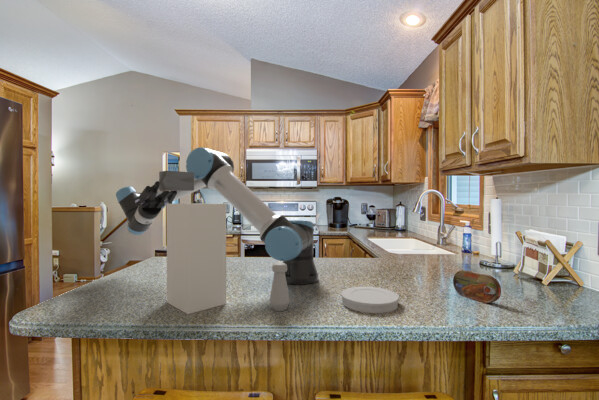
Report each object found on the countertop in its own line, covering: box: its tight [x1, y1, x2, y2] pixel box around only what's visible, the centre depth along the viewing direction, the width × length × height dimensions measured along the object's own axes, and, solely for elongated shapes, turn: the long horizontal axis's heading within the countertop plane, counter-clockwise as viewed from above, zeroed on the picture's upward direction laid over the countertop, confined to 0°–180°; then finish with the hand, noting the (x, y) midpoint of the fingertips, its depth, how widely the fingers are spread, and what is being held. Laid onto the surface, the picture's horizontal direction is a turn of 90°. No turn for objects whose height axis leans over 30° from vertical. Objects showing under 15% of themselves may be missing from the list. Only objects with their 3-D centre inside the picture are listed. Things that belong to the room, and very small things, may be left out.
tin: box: [452, 269, 502, 304], centre depth 99 cm, size 15×3×8 cm, turn 23°
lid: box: [340, 286, 400, 314], centre depth 96 cm, size 17×20×3 cm
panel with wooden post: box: [157, 170, 194, 191], centre depth 107 cm, size 18×9×6 cm, turn 45°
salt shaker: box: [269, 262, 291, 312], centre depth 90 cm, size 6×6×13 cm
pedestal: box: [166, 202, 227, 315], centre depth 94 cm, size 14×12×30 cm
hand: (170, 178), depth 107 cm, fingers closed on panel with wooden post, 3 cm apart
